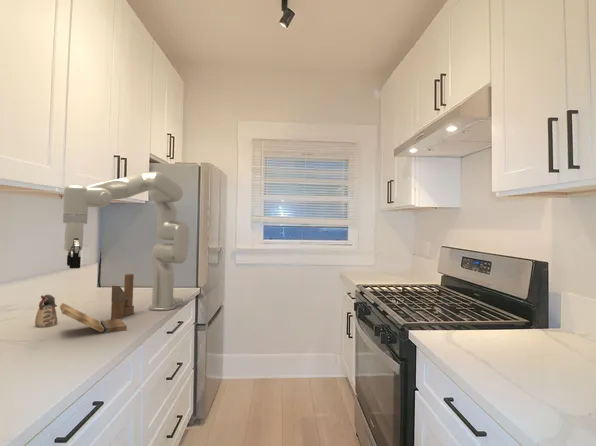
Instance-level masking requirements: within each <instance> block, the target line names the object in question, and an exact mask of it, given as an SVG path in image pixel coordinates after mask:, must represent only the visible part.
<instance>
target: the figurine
mask: <svg viewBox="0 0 596 446" xmlns="http://www.w3.org/2000/svg"><path fill="white" fill-rule="evenodd" d="M40 298H41V300H40V301H39V304H38V309H37V312H36V315H35V320H34V324H35V327H36V328H50V327H54V326H57V325H58V315H57V309H56V307H58V304H56V302H55V301H56V300H55V299H56V298H55V297H54V296H53V295H52V294H48V293H47V294H44V295H43V294H42V295H40Z"/></svg>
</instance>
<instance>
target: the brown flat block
mask: <svg viewBox="0 0 596 446" xmlns="http://www.w3.org/2000/svg"><path fill="white" fill-rule="evenodd" d="M99 322H100V323H101V325H102V326H103V328H104V330H103V332H104V333H105V334H109V333H116V332H123V331H127V325H126V323H124V321H123V320H122V318H121V319H106V320H100V321H99Z"/></svg>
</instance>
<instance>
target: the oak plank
mask: <svg viewBox="0 0 596 446" xmlns="http://www.w3.org/2000/svg"><path fill="white" fill-rule="evenodd" d="M59 309H60V311H61V314H63V315H65V316H66V317H69V318H71V319H73V320H75V321H77V322H79V323H81V324H84V325H85V326H86V327H87V326H88V327H89V328H91V329H94V330H96V331H98V332H100V333H102V332H104V328H103V326H102V325H101V323H100V322H101V321H99V320H97V319H95V318H94V317H92V316H90V315H87V314H86V313H83V312H82V311H79V310H78V309H75V308H74V307H72V306H69V304H66V303H64V302H62V303H61V304H60V305H59Z"/></svg>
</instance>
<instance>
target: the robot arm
mask: <svg viewBox="0 0 596 446" xmlns="http://www.w3.org/2000/svg"><path fill="white" fill-rule="evenodd" d="M145 192H148V195H149V198H150V199H151V200H152V201H153V203H154V204H155V205H156V208H157V211H158V213H157V226H156V227H157V229H156V235H157V237H158V239H160V240H164V241H173V242H158V243H156V244H155V245H154V246H153V248H152V249H151V258H152V265H153V266H152V268H153V271H152V273H153V274H152V297H151V304H149V305H148V306H147V307H148V310H151V311H158V312H159V311H170V310H174V309H176V308H177V304H179V303H183V302H184V298H176V297H174V286H175V285H174V283H175V282H174V281H175V269H174V266H173V264H179V265H180V264H182V263H184V262H186V261H187V258H188V255H189V244H190V234H191V233H190V228H189V225H188V224H187V222H185V221H182V220H181V221H180V220H178V219H177V218H178V217H177V216H178V215H177V214H178V212H177V207H176V205H175V203H177V202H179V201H180V200H182V198H183V195H184V193H183V189H182V187H181V186H180V185H179V183H177V182H175V181H174V180H173V179H171V178H170V177H169V176H168V175H166V174H164V173H163V172H160V171H143V172H138V173H134V174H130V175H128V176H124V177H120V178H117V179H113V180H111V179H110V180H108V181H104V182H98V183H95V184H90V185H87V186H83V185H71V184H70V185H66V186H65V187H64V190H63V212H62V213H63V214H62V223H63V224H65V229H64V230H65V231H64V245H63V246H64V247H63V250H65V251H67V255H66V256H67V257H66V266H68V267H69V269H71V270H72V269H80V268H81V261H82V260H81V252H82V250H83V243H84V225H88V214H89V213H88V212H89V208H104V207H107V206H108V205H110V204H111V203H112V201H113V200H122V199H128V198H132V197H134V196H137V195H140V194H142V193H145Z"/></svg>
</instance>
